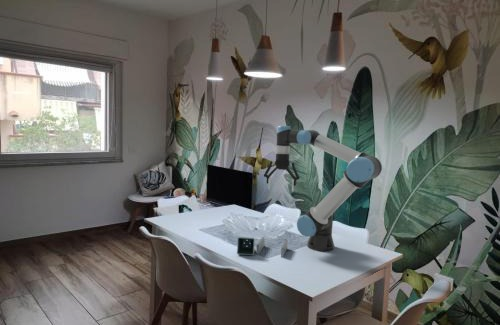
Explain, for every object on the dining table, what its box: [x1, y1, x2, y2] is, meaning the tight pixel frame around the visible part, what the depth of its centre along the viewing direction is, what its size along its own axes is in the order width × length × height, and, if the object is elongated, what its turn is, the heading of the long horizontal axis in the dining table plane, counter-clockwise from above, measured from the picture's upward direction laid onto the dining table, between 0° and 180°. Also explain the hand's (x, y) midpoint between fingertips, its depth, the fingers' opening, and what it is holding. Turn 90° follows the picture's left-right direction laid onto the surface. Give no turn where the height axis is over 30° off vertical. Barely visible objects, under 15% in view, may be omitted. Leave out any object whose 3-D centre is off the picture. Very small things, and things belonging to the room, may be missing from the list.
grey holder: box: [255, 236, 288, 258], centre depth 196 cm, size 14×14×5 cm
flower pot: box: [236, 236, 255, 256], centre depth 192 cm, size 9×9×9 cm
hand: (280, 190), depth 205 cm, fingers open, 13 cm apart
